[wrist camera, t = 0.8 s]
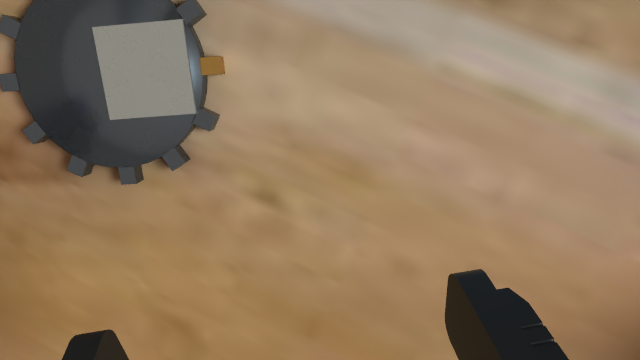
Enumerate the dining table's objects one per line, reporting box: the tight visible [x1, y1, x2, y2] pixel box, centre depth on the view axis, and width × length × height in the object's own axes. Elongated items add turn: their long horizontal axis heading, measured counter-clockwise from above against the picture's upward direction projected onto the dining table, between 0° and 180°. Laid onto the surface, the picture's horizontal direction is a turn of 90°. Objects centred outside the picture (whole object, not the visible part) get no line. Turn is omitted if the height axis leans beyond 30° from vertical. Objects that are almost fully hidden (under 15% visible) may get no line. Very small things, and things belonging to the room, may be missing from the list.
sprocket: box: [0, 0, 225, 185], centre depth 31 cm, size 16×16×1 cm
